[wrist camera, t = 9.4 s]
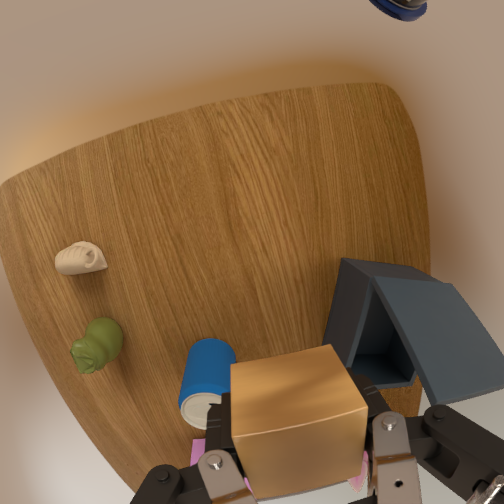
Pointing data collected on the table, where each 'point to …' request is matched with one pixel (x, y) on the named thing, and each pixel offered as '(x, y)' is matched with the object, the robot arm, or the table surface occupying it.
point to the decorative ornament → (80, 259)
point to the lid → (442, 339)
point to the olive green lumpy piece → (97, 345)
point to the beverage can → (205, 379)
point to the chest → (369, 324)
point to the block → (296, 421)
